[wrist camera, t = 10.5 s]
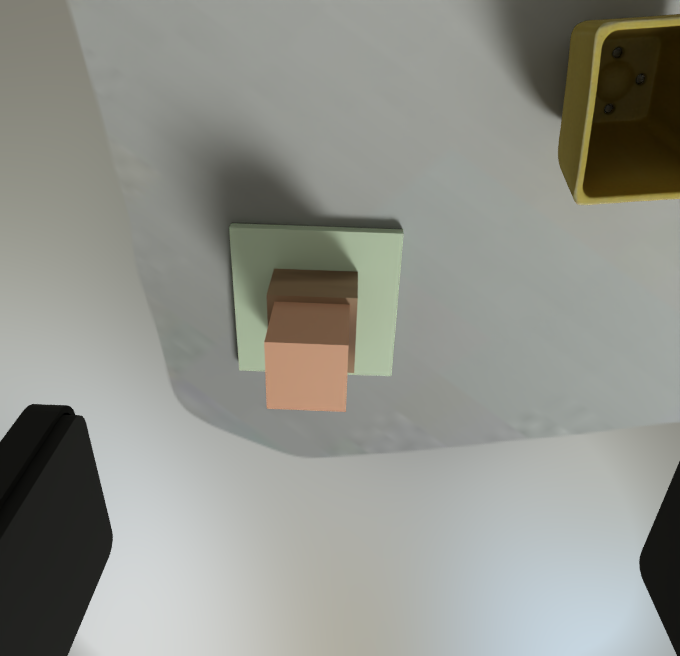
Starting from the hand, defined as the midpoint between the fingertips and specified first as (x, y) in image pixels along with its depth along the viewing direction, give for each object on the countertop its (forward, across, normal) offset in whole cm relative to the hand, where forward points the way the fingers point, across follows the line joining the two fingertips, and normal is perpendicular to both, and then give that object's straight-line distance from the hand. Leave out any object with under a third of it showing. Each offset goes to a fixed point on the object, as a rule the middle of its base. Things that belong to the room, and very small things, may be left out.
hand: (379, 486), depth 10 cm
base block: (+32, +3, +15) cm, 36 cm away
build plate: (+33, +3, +15) cm, 37 cm away
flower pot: (+34, -15, -1) cm, 37 cm away
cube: (+28, +3, +15) cm, 32 cm away
